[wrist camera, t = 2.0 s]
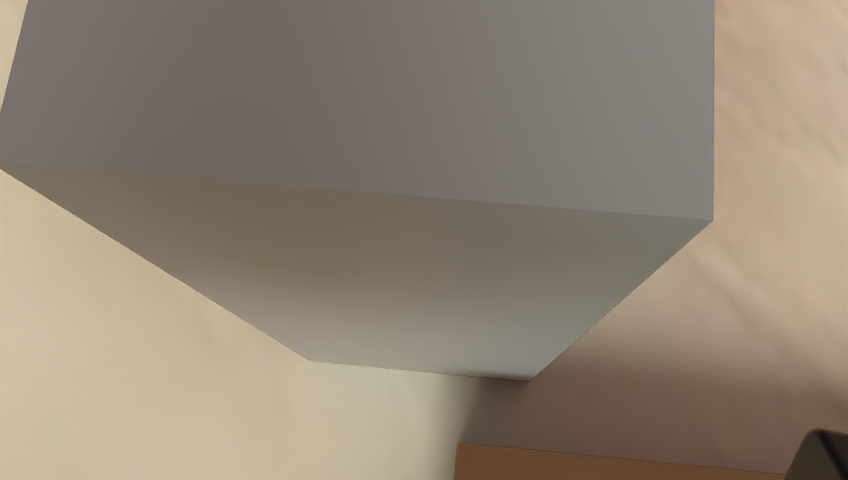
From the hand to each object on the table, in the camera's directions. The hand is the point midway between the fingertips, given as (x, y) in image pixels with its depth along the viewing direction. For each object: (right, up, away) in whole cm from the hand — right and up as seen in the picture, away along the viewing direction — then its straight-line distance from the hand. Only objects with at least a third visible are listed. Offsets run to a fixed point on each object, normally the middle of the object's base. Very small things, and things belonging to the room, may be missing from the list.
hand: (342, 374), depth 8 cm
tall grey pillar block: (+1, 0, +10) cm, 11 cm away
